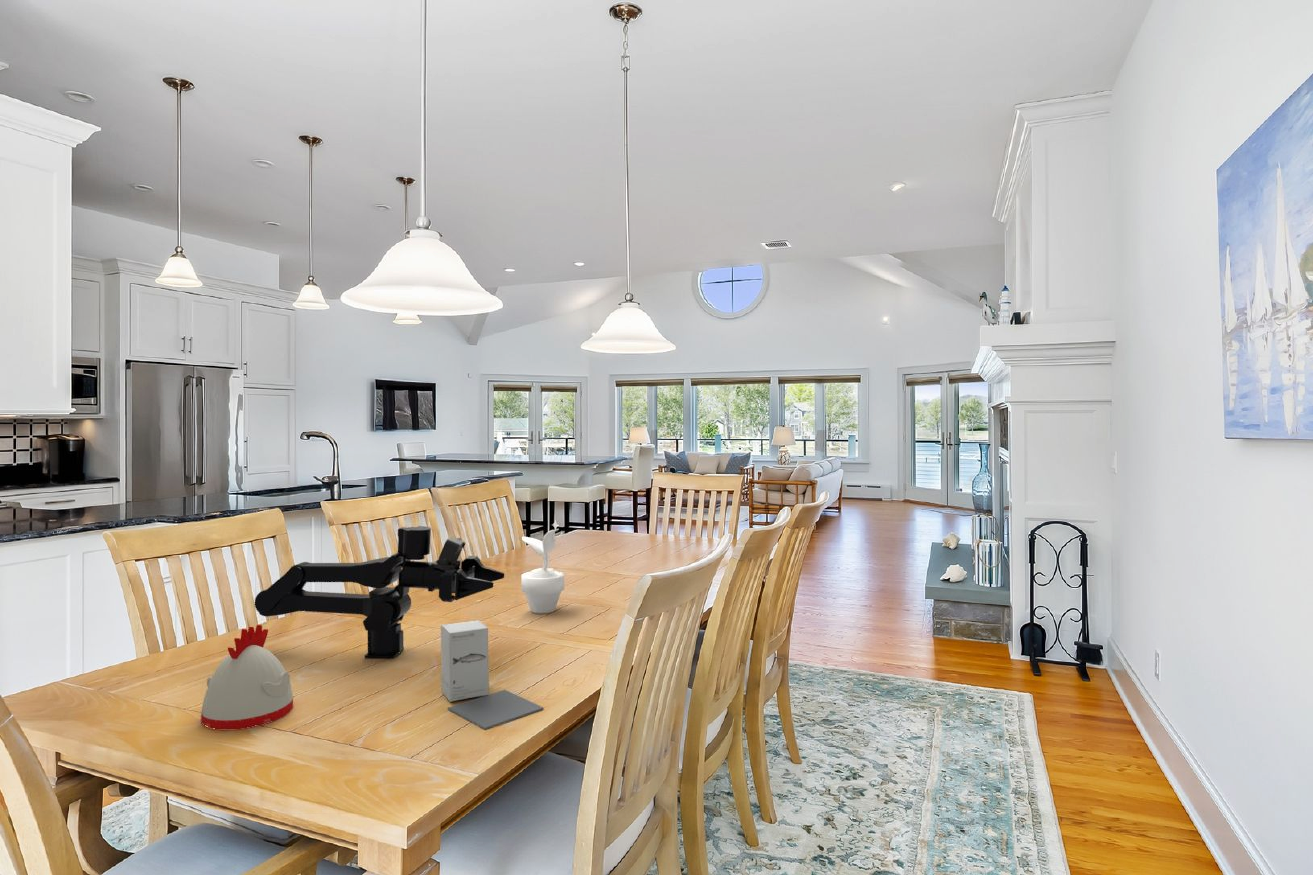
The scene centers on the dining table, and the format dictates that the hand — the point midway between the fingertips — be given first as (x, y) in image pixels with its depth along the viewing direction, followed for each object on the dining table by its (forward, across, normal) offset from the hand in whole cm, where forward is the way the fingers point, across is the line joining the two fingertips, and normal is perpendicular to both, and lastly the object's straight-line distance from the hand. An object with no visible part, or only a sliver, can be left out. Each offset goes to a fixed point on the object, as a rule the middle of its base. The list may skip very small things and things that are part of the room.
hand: (498, 580), depth 156 cm
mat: (+8, -29, +16) cm, 34 cm away
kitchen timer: (-34, -33, +19) cm, 51 cm away
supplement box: (0, -22, +16) cm, 28 cm away
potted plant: (+3, +38, +17) cm, 41 cm away
